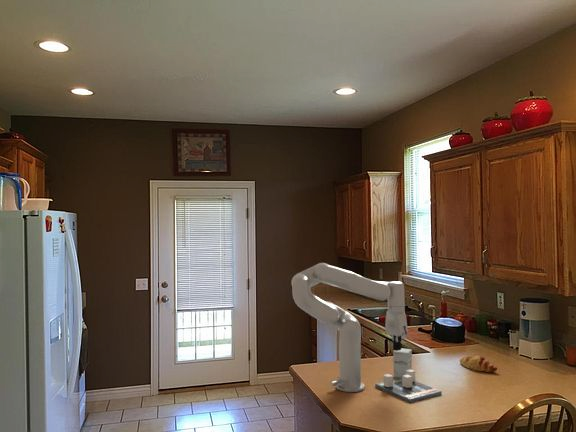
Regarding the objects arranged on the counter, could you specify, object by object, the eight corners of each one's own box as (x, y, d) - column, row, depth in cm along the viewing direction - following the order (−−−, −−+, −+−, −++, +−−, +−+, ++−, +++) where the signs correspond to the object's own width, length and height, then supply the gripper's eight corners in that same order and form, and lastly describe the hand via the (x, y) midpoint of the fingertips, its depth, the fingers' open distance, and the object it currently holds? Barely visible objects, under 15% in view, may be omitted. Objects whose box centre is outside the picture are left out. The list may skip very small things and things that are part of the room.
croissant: (456, 371, 245) (451, 358, 243) (466, 359, 250) (461, 346, 249) (494, 381, 228) (489, 367, 226) (504, 368, 233) (499, 354, 231)
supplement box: (393, 377, 226) (392, 350, 226) (397, 373, 232) (396, 347, 233) (408, 379, 222) (408, 352, 223) (412, 375, 229) (411, 348, 229)
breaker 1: (388, 387, 207) (387, 376, 207) (383, 385, 209) (383, 375, 209) (393, 386, 208) (393, 375, 208) (388, 384, 211) (388, 373, 211)
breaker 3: (407, 388, 206) (407, 377, 206) (402, 385, 208) (402, 375, 208) (412, 386, 207) (412, 376, 207) (407, 384, 210) (407, 374, 210)
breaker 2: (410, 382, 213) (410, 372, 213) (405, 380, 216) (405, 370, 216) (415, 381, 214) (415, 371, 215) (410, 379, 217) (410, 369, 217)
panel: (410, 402, 194) (409, 398, 194) (375, 387, 213) (375, 383, 213) (441, 394, 202) (441, 390, 202) (405, 380, 221) (405, 376, 222)
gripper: (378, 307, 219) (379, 347, 218) (401, 312, 205) (402, 355, 205) (391, 306, 222) (392, 345, 222) (414, 310, 209) (415, 352, 209)
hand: (397, 349), depth 214 cm, fingers closed
